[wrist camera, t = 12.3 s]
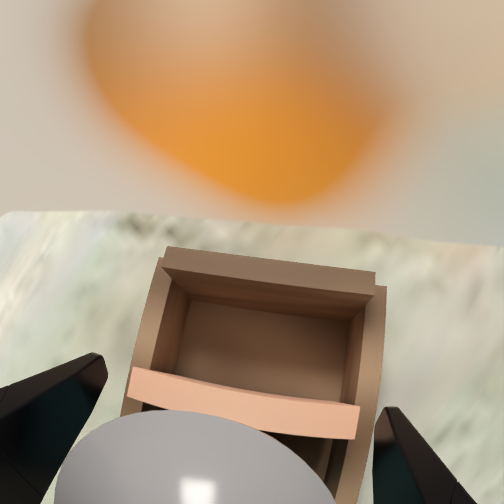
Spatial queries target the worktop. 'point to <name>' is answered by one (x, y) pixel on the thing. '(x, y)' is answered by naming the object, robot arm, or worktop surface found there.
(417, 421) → the worktop surface
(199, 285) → the small wooden crate
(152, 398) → the bar
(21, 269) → the worktop surface
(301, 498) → the teal lidded canister
